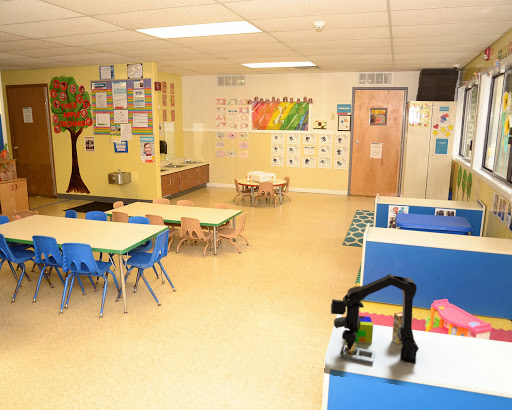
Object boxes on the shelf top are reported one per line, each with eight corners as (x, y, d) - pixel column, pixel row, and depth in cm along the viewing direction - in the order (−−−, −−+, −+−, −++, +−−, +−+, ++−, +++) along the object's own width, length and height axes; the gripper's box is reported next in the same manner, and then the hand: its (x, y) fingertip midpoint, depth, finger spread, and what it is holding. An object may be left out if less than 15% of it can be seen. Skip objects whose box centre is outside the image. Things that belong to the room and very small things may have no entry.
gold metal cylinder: (355, 353, 208) (356, 342, 206) (354, 358, 204) (355, 346, 202) (346, 351, 209) (347, 340, 208) (344, 356, 205) (345, 344, 204)
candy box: (397, 344, 217) (399, 316, 214) (391, 340, 221) (393, 312, 218) (410, 341, 220) (413, 313, 218) (405, 337, 224) (407, 310, 221)
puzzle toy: (368, 334, 227) (370, 316, 225) (371, 343, 218) (373, 325, 216) (349, 332, 228) (350, 315, 226) (351, 342, 219) (353, 324, 217)
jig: (374, 354, 207) (375, 347, 206) (372, 364, 198) (373, 357, 197) (343, 348, 212) (344, 341, 212) (340, 358, 203) (340, 350, 202)
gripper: (339, 304, 214) (337, 333, 217) (332, 319, 197) (330, 351, 199) (361, 308, 210) (359, 337, 213) (356, 324, 193) (354, 355, 196)
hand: (350, 345), depth 205 cm, fingers open, 9 cm apart
